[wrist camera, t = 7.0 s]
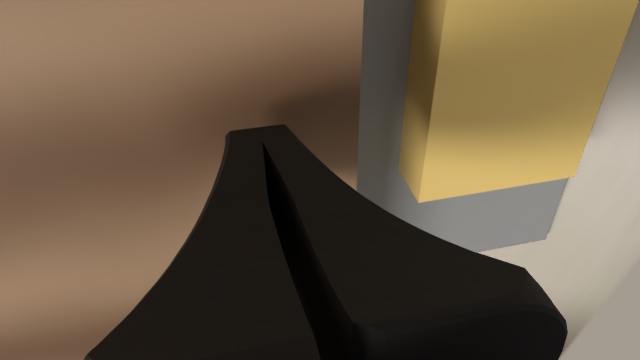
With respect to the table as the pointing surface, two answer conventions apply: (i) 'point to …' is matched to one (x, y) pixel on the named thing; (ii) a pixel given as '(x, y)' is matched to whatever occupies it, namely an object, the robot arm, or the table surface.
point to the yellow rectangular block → (504, 90)
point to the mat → (385, 142)
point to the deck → (144, 140)
